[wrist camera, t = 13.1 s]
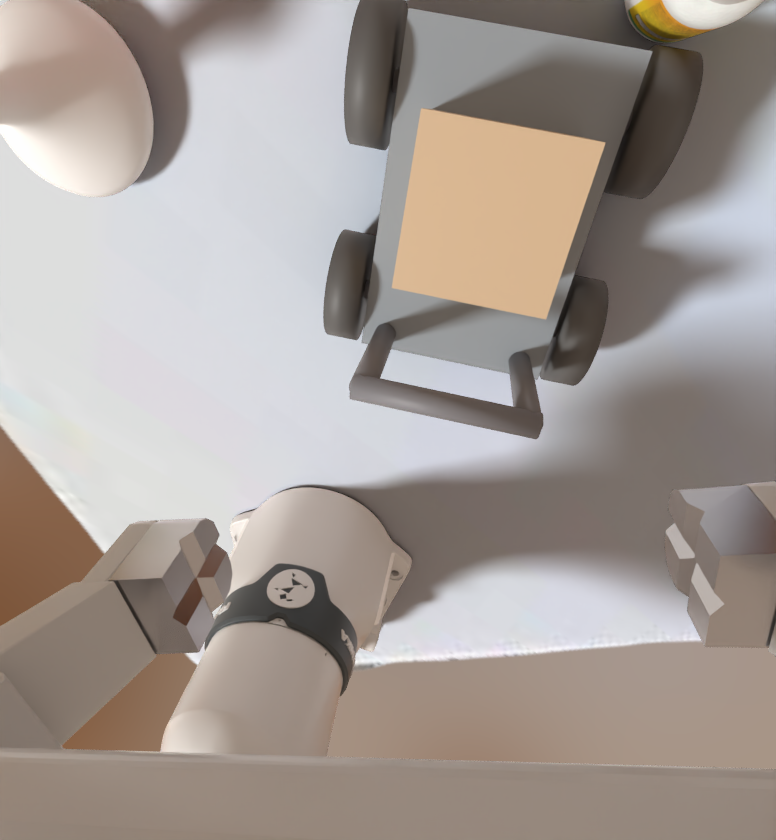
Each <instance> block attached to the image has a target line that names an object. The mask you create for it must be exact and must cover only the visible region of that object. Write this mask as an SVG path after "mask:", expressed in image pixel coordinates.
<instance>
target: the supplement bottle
mask: <svg viewBox="0 0 776 840" xmlns="http://www.w3.org/2000/svg"><path fill="white" fill-rule="evenodd" d="M763 1H764V0H625V9H626V12H627V16H628V19H629V21H630V23H631V24H632V26H633V27H634V28H635V29H636V30H637V32H639V33H640V34H641V35H642V36H643V37H645V38H647V39H649V40H651V41H654V42H659V43H672V42H676V41H681V40H684V39H687V38H690V37H693V36H696V35H699V34H701V33H705V32H708V31H710V30H714V29H717V28H720V27H723V26H726V25H728V24H731V23H733V22H735V21H737V20H739V19H741V18H742V17H744V16H746V15H747V14H749V13H750V12H751V11H753V10H754V9H755V8H756V7H758V6H759V5H760V4H761V3H762V2H763Z"/></svg>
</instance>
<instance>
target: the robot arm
mask: <svg viewBox="0 0 776 840" xmlns="http://www.w3.org/2000/svg"><path fill="white" fill-rule="evenodd" d="M668 511H669V513H670V515H671V517H672V519H673V521H674V523H673V524H672V525H671V526H670V527H669V528H668V529H667V530H666V531H665V545H664V548H665V556H666V563H667V567H668V570H669V573H670V576H671V578H672V581H673V583H674V585H675V587H676V589H678V590H679V591H681V592H682V593H684V594H685V595H686V596H688V597H689V599H688V607H687V612H688V614H689V616H690V618H691V620H692V622H693V624H694V626H695V628H696V630H697V632H698V634H699V636H700V638H701V640H702V642H703V644H704V646H705V647H741V648H744V647H745V648H769V650H768V651H769V652H770V653H772V654H773V655H774V656H776V481H771V482H759V483H748V484H741V485H736V486H721V487H706V488H691V489H675V490H672V492H671V494H670V497H669V503H668ZM230 532H231V536H232V540H233V544H234V548H233V550H232V552H231V554H230V556H229V557H228V554H227V552H226V551H224V550H223V549H222V548H220V547H219V546H218V545H217V544H216V542H217V540H218V538H219V532H218V530H217V528H216V526H215V524H214V522H213V521H211V520H209V519H206V518H202V519H176V520H160V521H138V522H135V523H133V524H130V525H129V526H128V527H127V528H126V530H125V531H124V532H123V533H122V534H121V535H120V537H119V538H118V539H117V540H116V541H115V542H114V544H113V545H112V546H111V547H110V548H109V550H108V551H107V552H106V553H105V554H104V555H103V557H102V558H101V559H100V560H99V561H98V562H97V564H96V565H95V566H94V567H93V568H92V569H91V571H90V572H89V573H88V574H87V575H86V577H85V578H84V579H83V580H82V582H80V583H72V584H70V585H69V586H67V587H65V588H64V589H62V590H60V591H59V592H57V593H55V594H54V595H52V596H50V597H49V598H47V599H45V600H44V601H42V602H40V603H39V604H37V605H35V606H34V607H32V608H31V609H29V610H27V611H26V612H24V613H22V614H21V615H19V616H17V617H15V618H14V619H12V620H10V621H9V622H7V623H5V624H4V625H2V626H0V840H776V769H752V768H751V769H750V768H717V767H682V766H644V765H607V764H571V763H569V764H568V763H533V762H496V761H495V762H494V761H459V760H423V759H422V760H421V759H388V758H356V757H327V752H328V747H329V742H330V738H331V732H332V728H333V724H334V719H335V714H336V710H337V706H338V701H339V697H340V696H341V695H342V694H343V693H344V691H345V690H346V688H347V685H348V682H349V679H350V677H351V675H352V672H353V668H354V665H355V655H356V653H357V651H358V650H359V648H361V649H362V648H363V649H364V650H367V651H370V652H371V651H372V652H373V651H374V649H375V647H376V644H377V641H378V637H379V632H380V628H381V625H382V620H381V619H382V618H383V616H384V614H385V612H386V611H387V609H388V607H389V606H390V604H391V602H392V600H393V599H394V597H395V595H396V594H397V592H398V590H399V588H400V587H401V585H402V583H403V581H404V580H405V578H406V576H407V575H408V573H409V571H410V568H411V565H412V559H411V557H410V556H409V555H408V554H407V553H406V552H405V551H404V550H403V549H401V548H400V547H399V546H398V545H396V544H395V543H394V542H393V541H392V540H391V538H390V537H389V535H388V534H387V532H386V530H385V528H384V527H383V525H382V524H381V522H380V521H379V520H378V519H377V517H376V516H375V515H374V514H373V513H372V512H371V511H369V510H368V509H367V508H366V507H364V506H363V505H362V504H360V503H359V502H357V501H355V500H353V499H351V498H349V497H347V496H345V495H343V494H340V493H337V492H334V491H330V490H326V489H320V488H307V487H306V488H294V489H289V490H285V491H282V492H280V493H277V494H275V495H274V496H272V497H270V498H269V499H268V500H266V501H265V502H264V503H263V504H262V505H261V506H260V507H258V508H257V509H256V510H254V511H250V512H246V513H243V514H240V515H237V516H236V517H234V518H233V520H232V523H231V525H230ZM395 570H396V571H395ZM222 603H223V604H222ZM221 604H222V606H221V608H220V610H219V611H218V612H217V614H216V615H215V617H214V618H213V614H212V611H214V610H215V609H216V608H217V607H219V606H220V605H221ZM204 642H205V652H204V654H203V656H202V658H201V660H200V662H199V664H198V666H197V668H196V670H195V672H194V674H193V676H192V678H191V680H190V682H189V684H188V685H187V688H186V690H185V691H184V693H183V695H182V697H181V699H180V701H179V703H178V705H177V707H176V709H175V711H174V713H173V715H172V717H171V719H170V721H169V723H168V725H167V727H166V729H165V732H164V736H163V740H162V745H161V751H160V752H149V751H114V750H80V749H63V747H62V745H63V744H64V743H65V742H66V741H67V740H68V739H69V738H70V737H71V736H72V735H73V734H74V733H75V732H77V731H78V730H79V729H80V728H81V727H82V726H83V725H84V724H85V723H86V722H87V721H88V720H89V719H91V718H92V717H93V716H94V715H95V714H96V713H97V712H98V711H99V710H100V709H101V708H102V707H103V706H104V705H105V704H106V703H108V701H110V700H111V699H112V698H113V697H114V696H115V695H116V694H117V693H118V692H119V691H120V690H121V689H122V688H123V687H124V686H126V685H127V684H128V683H129V682H130V681H131V680H132V679H133V678H134V677H135V676H136V675H137V674H138V673H139V672H140V671H141V670H142V669H144V668H145V667H146V666H147V665H148V664H149V663H150V662H151V661H152V660H153V659H154V658H155V657H156V654H169V653H194V652H199V651H200V650H201V648H202V646H203V644H204Z"/></svg>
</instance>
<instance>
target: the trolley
mask: <svg viewBox="0 0 776 840" xmlns="http://www.w3.org/2000/svg"><path fill="white" fill-rule="evenodd" d="M702 74H703V60H702V56H701V54H700V53H698V52H695V51H689V50H684V49H678V48H672V47H667V46H661V45H654V46H653V47H652V48H650V49H649V50H644V49H638V48H632V47H627V46H621V45H615V44H610V43H604V42H599V41H593V40H587V39H582V38H576V37H570V36H565V35H559V34H553V33H548V32H542V31H536V30H531V29H525V28H520V27H514V26H508V25H503V24H497V23H491V22H486V21H480V20H474V19H469V18H463V17H457V16H452V15H446V14H441V13H435V12H429V11H424V10H418V9H412V8H408V9H407V3H406V1H405V0H360V2H359V4H358V7H357V10H356V14H355V17H354V22H353V26H352V31H351V36H350V42H349V48H348V56H347V65H346V75H345V91H344V118H345V129H346V135H347V138H348V141H349V143H350V144H355V145H360V146H365V147H370V148H375V149H381V150H386V149H387V148H388V146H389V151H388V158H387V165H386V172H385V179H384V186H383V193H382V200H381V208H380V215H379V222H378V229H377V236H375V235H370V234H365V233H360V232H355V231H350V230H343V231H342V232H341V234H340V236H339V238H338V240H337V242H336V245H335V248H334V251H333V254H332V258H331V262H330V267H329V271H328V276H327V282H326V289H325V297H324V316H323V318H324V328H325V332H326V333H327V334H329V335H334V336H339V337H343V338H348V339H353V340H357V339H358V338H359V337H360V335H361V332H362V330H363V336H362V343H365V344H368V346H367V348H366V351H365V353H364V355H363V357H362V359H361V361H360V363H359V365H358V367H357V369H356V371H355V373H354V375H353V377H352V380H351V382H350V384H349V390H350V399H352V400H357V401H361V402H366V403H371V404H375V405H380V406H385V407H389V408H394V409H399V410H403V411H408V412H412V413H417V414H422V415H426V416H431V417H436V418H440V419H445V420H449V421H454V422H459V423H463V424H468V425H473V426H477V427H482V428H487V429H491V430H496V431H500V432H505V433H510V434H514V435H519V436H524V437H528V438H533V439H537V438H538V437H539V435H540V432H541V429H542V427H543V414H542V413H541V409H540V404H539V399H538V394H537V390H536V385H535V380H534V379H538V376H539V375H540V377H541V379H543V380H548V381H553V382H558V383H563V384H567V385H573V386H574V385H576V384H578V383H579V382H580V381H581V380H582V379H583V377H584V376H585V375H586V373H587V371H588V370H589V368H590V366H591V364H592V362H593V359H594V357H595V355H596V352H597V350H598V347H599V344H600V341H601V338H602V334H603V330H604V326H605V321H606V316H607V309H608V289H607V285H606V283H605V282H604V281H601V280H596V279H591V278H586V277H581V276H576V275H574V274H575V271H576V268H577V265H578V262H579V260H580V257H581V254H582V251H583V248H584V245H585V243H586V240H587V237H588V234H589V231H590V228H591V225H592V223H593V220H594V217H595V214H596V211H597V208H598V206H599V203H600V200H601V197H602V194H603V192H605V193H611V194H616V195H621V196H626V197H632V198H637V199H643V198H645V197H646V196H648V195H649V194H650V193H651V192H652V191H653V190H654V189H655V188H656V186H657V185H658V184H659V182H660V181H661V180H662V178H663V177H664V175H665V173H666V172H667V170H668V168H669V167H670V165H671V163H672V161H673V159H674V157H675V155H676V154H677V151H678V149H679V147H680V145H681V143H682V141H683V138H684V136H685V134H686V131H687V129H688V126H689V123H690V121H691V118H692V115H693V112H694V109H695V106H696V102H697V99H698V95H699V91H700V86H701V81H702ZM363 327H364V329H363ZM391 349H394V350H399V351H403V352H408V353H413V354H418V355H422V356H427V357H432V358H437V359H441V360H446V361H451V362H456V363H460V364H465V365H470V366H475V367H479V368H484V369H489V370H494V371H498V372H503V373H508V374H510V380H511V389H512V398H513V407H511V406H507V405H502V404H497V403H492V402H488V401H483V400H478V399H474V398H469V397H464V396H460V395H455V394H450V393H446V392H441V391H436V390H431V389H427V388H422V387H417V386H413V385H408V384H403V383H399V382H394V381H389V380H385V379H380V376H381V374H382V371H383V369H384V366H385V363H386V361H387V358H388V355H389V353H390V350H391Z"/></svg>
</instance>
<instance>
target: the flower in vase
mask: <svg viewBox="0 0 776 840" xmlns="http://www.w3.org/2000/svg"><path fill="white" fill-rule="evenodd" d="M153 126H154V122H153V112H152V106H151V101H150V96H149V92H148V89H147V86H146V83H145V80H144V77H143V75H142V73H141V70H140V68H139V66H138V64H137V62H136V60H135V58H134V56H133V54H132V53H131V51H130V50H129V48H128V47H127V45H126V44H125V42H124V41H123V39H122V38H121V37H120V36H119V34H118V33H117V32H116V31H115V29H114V28H113V27H112V26H111V25H110V24H109V23H108V22H107V21H106V20H105V19H104V18H103V17H101V16H100V15H99V14H98V13H97V12H95V11H94V10H93V9H91V8H90V7H88V6H87V5H85V4H84V3H82V2H80V1H78V0H9V1H7V2H6V3H4V4H3V5H2V6H0V132H1V134H2V136H3V137H4V139H5V140H6V142H7V143H8V145H9V146H10V147H11V149H12V150H13V151H14V152H15V154H16V155H17V156H18V157H19V158H20V159H21V160H22V161H23V162H24V163H25V164H26V165H27V166H28V167H29V168H30V169H31V170H32V171H33V172H35V173H36V174H37V175H39V176H40V177H41V178H43V179H44V180H46V181H48V182H49V183H51V184H53V185H55V186H57V187H59V188H61V189H64V190H66V191H69V192H72V193H75V194H78V195H82V196H88V197H105V196H110V195H114V194H117V193H119V192H121V191H123V190H125V189H126V188H128V187H129V186H130V185H132V184H133V183H134V182H135V181H136V179H137V178H138V177H139V176H140V174H141V173H142V171H143V170H144V168H145V166H146V164H147V161H148V159H149V156H150V152H151V148H152V142H153Z"/></svg>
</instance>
